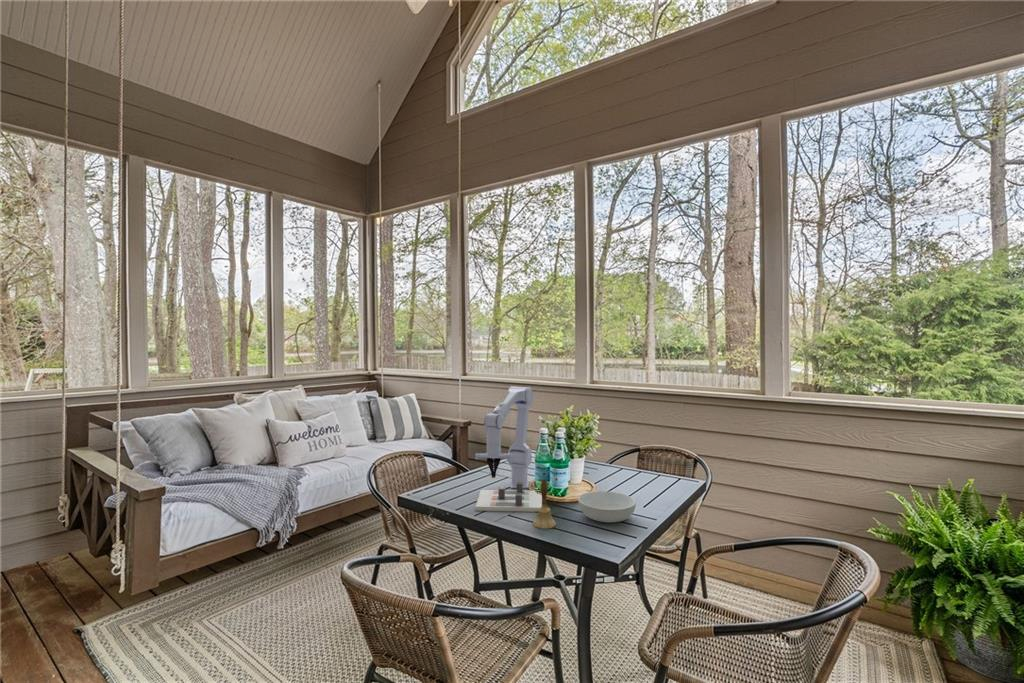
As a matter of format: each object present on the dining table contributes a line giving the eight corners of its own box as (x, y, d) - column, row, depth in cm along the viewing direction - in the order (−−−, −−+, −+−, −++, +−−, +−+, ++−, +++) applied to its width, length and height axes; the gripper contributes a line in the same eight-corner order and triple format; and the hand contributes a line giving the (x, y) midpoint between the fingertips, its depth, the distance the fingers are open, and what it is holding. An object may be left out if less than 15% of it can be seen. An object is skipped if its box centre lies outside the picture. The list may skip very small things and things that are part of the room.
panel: (481, 493, 202) (481, 480, 202) (542, 494, 201) (542, 481, 201) (475, 510, 182) (475, 496, 182) (543, 511, 181) (543, 497, 181)
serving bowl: (646, 518, 175) (646, 499, 175) (614, 534, 160) (614, 514, 160) (599, 504, 190) (599, 486, 190) (566, 517, 175) (566, 499, 175)
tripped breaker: (499, 495, 193) (499, 486, 193) (504, 495, 193) (504, 486, 193) (498, 498, 190) (498, 488, 190) (504, 498, 190) (504, 488, 190)
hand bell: (527, 524, 169) (527, 479, 169) (543, 518, 175) (543, 474, 175) (545, 531, 163) (545, 484, 163) (560, 524, 169) (560, 479, 169)
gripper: (474, 445, 188) (474, 479, 188) (511, 445, 187) (511, 480, 187) (476, 441, 195) (476, 474, 195) (512, 441, 194) (511, 475, 194)
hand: (493, 477), depth 191 cm, fingers closed
